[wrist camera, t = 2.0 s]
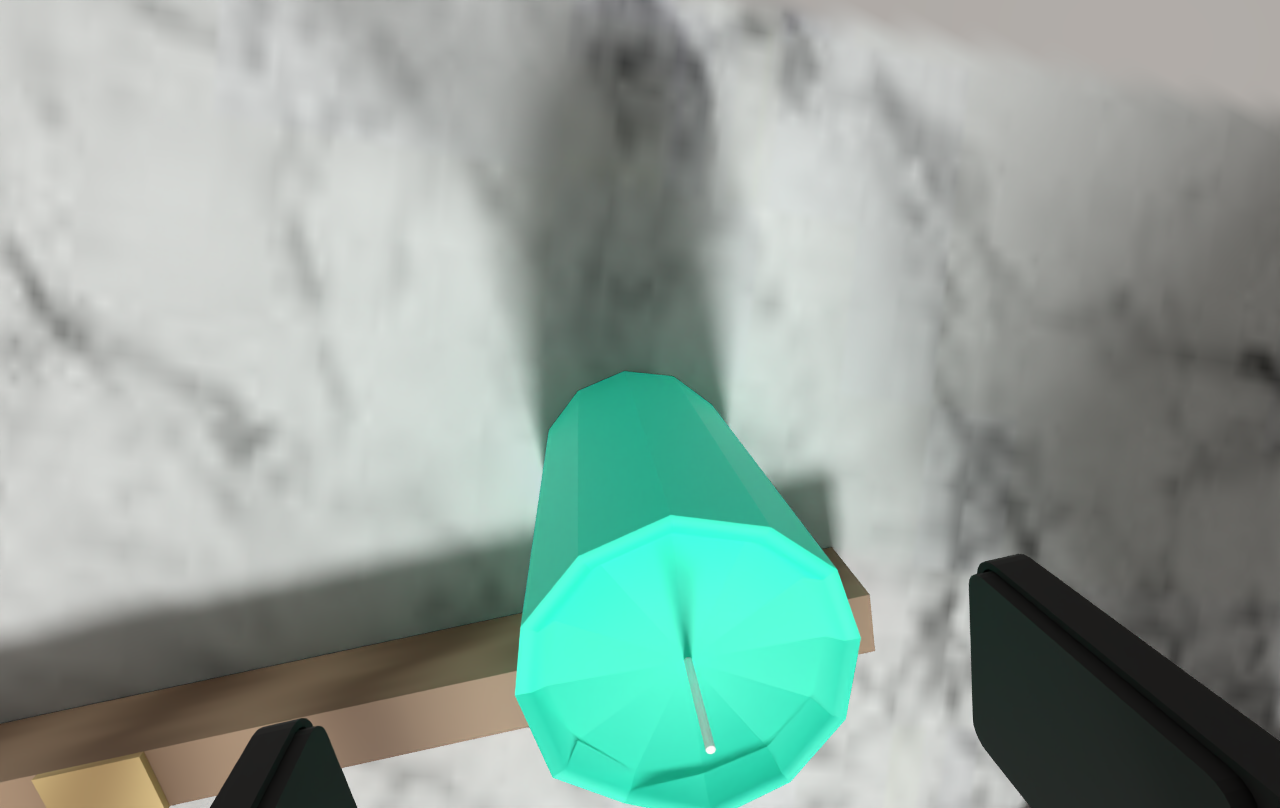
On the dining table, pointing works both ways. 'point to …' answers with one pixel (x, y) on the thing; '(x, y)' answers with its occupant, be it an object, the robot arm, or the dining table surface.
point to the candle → (674, 608)
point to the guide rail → (285, 716)
